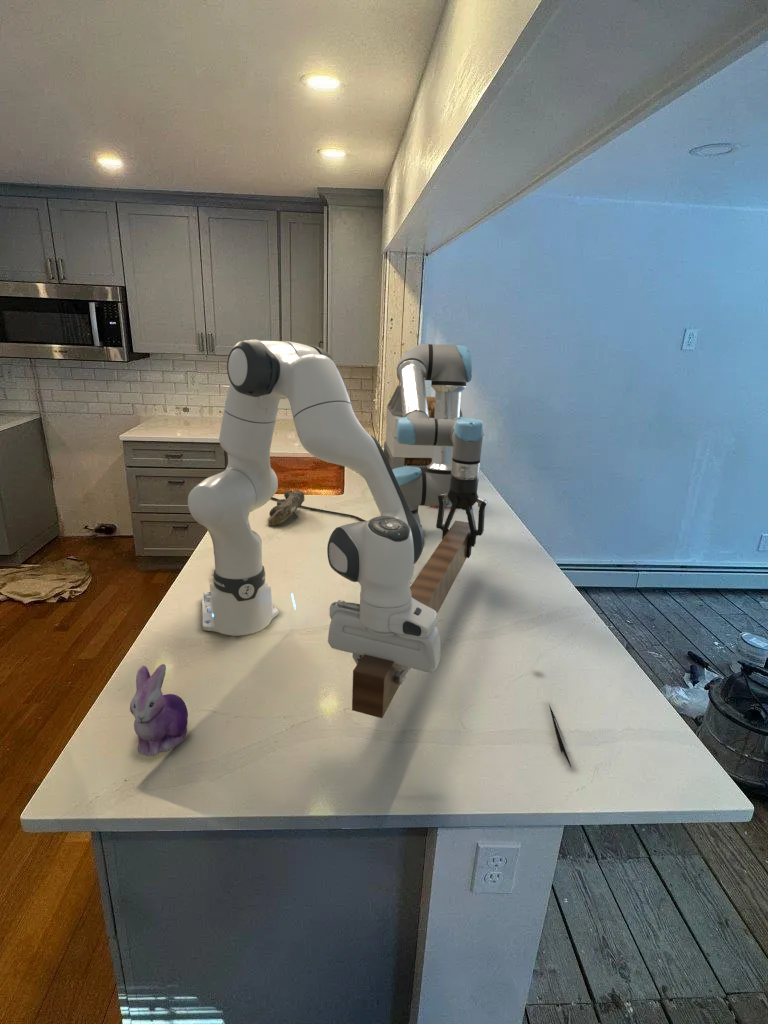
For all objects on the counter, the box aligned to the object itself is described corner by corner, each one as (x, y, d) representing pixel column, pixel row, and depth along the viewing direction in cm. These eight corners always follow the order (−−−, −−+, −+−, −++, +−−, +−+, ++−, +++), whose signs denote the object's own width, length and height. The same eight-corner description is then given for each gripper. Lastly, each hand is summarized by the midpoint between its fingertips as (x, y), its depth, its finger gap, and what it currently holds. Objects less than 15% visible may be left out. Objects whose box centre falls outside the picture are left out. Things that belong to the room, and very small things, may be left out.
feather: (538, 678, 126) (544, 672, 125) (570, 771, 99) (578, 764, 99) (532, 674, 126) (537, 668, 125) (563, 766, 99) (570, 759, 98)
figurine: (137, 767, 96) (127, 693, 90) (132, 728, 104) (122, 659, 99) (195, 750, 100) (189, 678, 95) (185, 714, 108) (179, 646, 103)
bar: (452, 545, 169) (455, 520, 167) (471, 549, 168) (474, 523, 165) (351, 710, 98) (352, 670, 95) (382, 718, 96) (384, 678, 94)
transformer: (382, 463, 289) (386, 382, 275) (445, 464, 293) (451, 384, 279) (390, 482, 257) (394, 392, 243) (460, 483, 261) (468, 394, 247)
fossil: (273, 495, 220) (302, 475, 215) (290, 514, 223) (319, 494, 218) (257, 521, 200) (288, 499, 195) (275, 541, 203) (306, 520, 198)
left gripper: (322, 606, 98) (321, 673, 103) (436, 632, 92) (430, 702, 97) (337, 590, 104) (336, 654, 108) (446, 613, 97) (439, 681, 102)
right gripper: (427, 475, 154) (422, 553, 162) (496, 484, 148) (487, 565, 156) (435, 468, 160) (429, 543, 168) (501, 477, 154) (492, 555, 162)
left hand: (381, 677), depth 102 cm, fingers closed on bar, 5 cm apart
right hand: (457, 553), depth 162 cm, fingers closed on bar, 6 cm apart
